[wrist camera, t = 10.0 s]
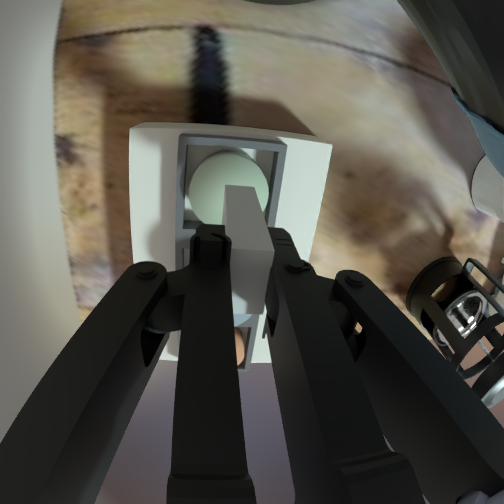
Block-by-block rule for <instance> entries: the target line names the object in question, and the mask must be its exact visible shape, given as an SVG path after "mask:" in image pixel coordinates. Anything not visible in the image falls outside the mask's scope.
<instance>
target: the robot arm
mask: <svg viewBox="0 0 504 504" xmlns="http://www.w3.org/2000/svg"><path fill="white" fill-rule="evenodd" d="M245 1H250V2H255V3H262V4H273V5H289V4H299V3H306V2H310V1H314V0H245ZM397 1H398V3H399V4H400V5H401V6H402V8H403V9H404V10H405V12H406V13H407V14H408V16H409V17H410V19H411V20H412V21H413V23H414V24H415V26H416V27H417V29H418V30H419V32H420V33H421V34H422V36H423V38H424V39H425V41H426V42H427V44H428V45H429V47H430V48H431V50H432V52H433V53H434V55H435V57H436V58H437V60H438V62H439V63H440V65H441V67H442V69H443V70H444V72H445V74H446V76H447V78H448V80H449V81H450V86H451V89H452V92H453V96H454V99H455V101H456V103H457V104H458V106H459V107H460V109H461V110H462V111H463V112H464V113H465V114H466V115H467V117H468V119H469V121H470V123H471V125H472V127H473V129H474V131H475V133H476V135H477V137H478V140H479V142H480V144H481V146H482V148H483V150H484V152H485V154H486V156H487V157H488V159H489V160H490V162H491V163H492V165H493V166H494V167H495V168H496V170H497V171H498V172H499V173H500V174H501V175H502V176H503V177H504V0H397ZM265 306H266V311H267V313H266V318H265V323H264V328H263V333H262V339H265V335H266V334H267V339H268V345H269V351H270V356H271V362H272V367H273V373H274V378H275V384H276V389H277V395H278V401H279V406H280V412H281V417H282V423H283V429H284V434H285V439H286V445H287V451H288V456H289V462H290V467H291V473H292V479H293V484H294V490H295V503H294V504H426V503H425V501H424V498H423V495H424V496H425V498H426V499H427V500H428V501H429V503H430V504H504V428H503V427H502V426H501V424H500V423H499V422H498V421H497V419H496V418H495V417H494V416H493V414H492V413H491V412H490V411H489V409H488V408H487V407H486V406H485V404H484V403H483V402H482V401H481V400H480V398H479V397H478V396H477V395H476V394H475V392H474V391H473V390H472V389H471V388H470V386H469V385H468V384H467V383H466V382H465V381H464V379H463V378H462V377H461V376H460V375H459V374H458V373H457V371H456V370H455V369H454V368H453V367H452V366H451V365H450V363H449V362H448V361H447V360H446V359H445V358H444V357H443V356H442V354H440V352H439V351H438V350H437V349H436V348H435V347H434V346H433V345H432V343H431V342H430V341H429V340H428V339H427V338H426V337H425V336H424V335H423V334H422V333H421V332H420V330H419V329H418V328H417V327H416V326H415V325H414V324H413V323H412V322H411V321H410V320H409V319H408V318H407V317H406V316H405V315H404V314H403V313H402V312H401V311H400V309H399V308H398V307H397V306H396V305H395V304H394V303H393V302H392V301H391V300H390V299H389V298H388V297H387V296H386V295H385V294H384V293H383V292H382V291H381V290H380V289H379V288H378V287H377V286H376V285H375V284H374V283H373V282H372V281H371V280H370V279H369V278H368V277H366V276H365V275H364V274H361V273H359V272H358V271H354V270H342V271H339V272H338V273H337V274H336V277H335V280H334V279H330V278H325V277H322V276H318V275H316V273H315V270H314V268H313V267H312V266H311V264H310V263H308V262H307V261H305V260H302V259H301V258H300V256H299V254H298V251H297V249H296V247H295V244H294V242H293V241H292V238H291V235H290V233H288V232H287V231H286V230H285V229H283V228H276V227H267V225H266V222H265V219H264V215H263V212H262V209H261V206H260V203H259V200H258V197H257V194H256V191H255V187H251V186H238V185H225V191H224V202H223V214H222V225H218V224H201V225H200V226H198V227H197V228H196V232H195V234H194V235H193V236H192V237H191V238H190V258H189V265H188V266H186V267H184V268H182V269H180V270H176V271H170V272H167V270H166V268H165V267H164V266H163V265H162V264H160V263H157V262H154V261H141V262H138V263H135V264H133V265H131V266H130V267H129V268H128V269H127V270H126V271H125V272H124V273H123V274H122V276H121V277H120V278H119V279H118V280H117V281H116V283H115V284H114V285H113V286H112V287H111V289H110V290H109V291H108V292H107V293H106V295H105V296H104V297H103V298H102V300H101V301H100V302H99V303H98V304H97V306H96V307H95V308H94V309H93V311H92V312H91V313H90V314H89V316H88V317H87V318H86V320H85V321H84V322H83V323H82V325H81V326H80V327H79V329H78V330H77V331H76V333H75V334H74V335H73V336H72V338H71V339H70V340H69V342H68V343H67V344H66V346H65V347H64V348H63V350H62V351H61V352H60V354H59V355H58V357H57V358H56V359H55V361H54V362H53V363H52V365H51V366H50V368H49V369H48V371H47V372H46V373H45V375H44V376H43V378H42V379H41V381H40V382H39V383H38V385H37V386H36V388H35V389H34V391H33V392H32V394H31V395H30V397H29V398H28V400H27V402H26V403H25V404H24V406H23V408H22V409H21V411H20V412H19V414H18V415H17V417H16V418H15V420H14V422H13V423H12V425H11V427H10V428H9V430H8V432H7V433H6V435H5V437H4V438H3V440H2V442H1V443H0V504H94V503H95V501H96V498H97V496H98V493H99V491H100V488H101V486H102V483H103V481H104V479H105V476H106V474H107V472H108V469H109V467H110V464H111V463H112V460H113V458H114V456H115V453H116V451H117V449H118V446H119V444H120V442H121V440H122V437H123V435H124V433H125V431H126V428H127V426H128V424H129V422H130V420H131V417H132V415H133V413H134V411H135V409H136V407H137V404H138V402H139V400H140V398H141V396H142V394H143V391H144V389H145V387H146V385H147V383H148V381H149V378H150V377H151V374H152V372H153V370H154V368H155V366H156V364H157V362H158V360H159V358H160V356H161V354H162V351H163V349H164V347H165V345H166V343H167V341H168V339H169V337H170V332H174V331H179V330H181V334H180V344H179V354H178V365H177V377H176V388H175V402H174V417H173V435H172V457H171V472H170V475H169V477H168V483H167V504H256V496H255V490H254V485H253V482H252V479H251V477H250V475H249V473H248V468H247V460H246V451H245V441H244V431H243V420H242V412H241V401H240V400H241V399H240V389H239V377H238V365H237V353H236V341H235V329H234V316H233V314H262V315H263V312H264V307H265ZM357 322H358V323H359V324H360V325H361V326H362V331H361V332H360V333H358V332H357V330H356V329H355V327H356V325H357ZM383 435H384V436H385V438H386V439H387V441H388V442H389V444H390V445H391V447H392V448H393V450H394V451H395V452H392V451H391V450H390V449H389V448H388V446H387V444H386V441H385V439H384V436H383ZM422 494H423V495H422Z"/></svg>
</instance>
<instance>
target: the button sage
mask: <svg viewBox="0 0 504 504" xmlns="http://www.w3.org/2000/svg"><path fill="white" fill-rule="evenodd" d="M225 185H238V186H251V187H255V191H256V194H257V197H258V200H259V203H260V206H261V209H262V212H263V211H264V209H265V207H266V205H267V201H268V195H269V191H268V184H267V181H266V178H265V176H264V174H263V172H262V171H261V169H260V167H259V165H258V164H257V163H256V162H255V160H254V159H252V158H251V157H250V156H248V155H247V154H245V153H242V152H240V151H236V150H221V151H217V152H214V153H212V154H210V155H208V156H207V157H205V158H204V159H203V160H202V161H201V162H200V163H199V164H198V166H197V167H196V169H195V171H194V173H193V176H192V180H191V184H190V187H189V200H190V204H191V207H192V210H193V212H194V213H195V215H196V216H197V217H198V218H199V219H200V220H201V221H202V222H203V223H205V224H218V225H222V214H223V202H224V191H225Z"/></svg>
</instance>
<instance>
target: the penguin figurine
mask: <svg viewBox="0 0 504 504" xmlns="http://www.w3.org/2000/svg"><path fill="white" fill-rule="evenodd" d="M501 262H502V263H503V264H504V258H502V260H501ZM502 284H503V285H504V276H503V281H502ZM492 297H493V298H494V299H495V301H496V302H497V303H498V304H499V305H500V306H501V307H502V308H503V309H504V294H503V293H502V292H501V291H499V294H498V295H497V296H496V295H492ZM488 304H489V314H490V315H491V316H492V315H494V314H496V313H498V312H497V311H496V310H495V309H494V308H493V306H492V305H491V304H490V303H489V302H488Z"/></svg>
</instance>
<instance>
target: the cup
mask: <svg viewBox="0 0 504 504" xmlns="http://www.w3.org/2000/svg"><path fill="white" fill-rule="evenodd" d="M471 193H472V200H473V202H474V205H475V206H476V208H477V209H478V210H480V211H482V212H484V213H486V214H488V215H490V216H492V217H495V218H497V219H500V220H501V221H502V222H503V223H504V177H503V176H502V175H501V174H500V173H499V172H498V171H497V170H496V168H495V167H494V166H493V165H492V163H491V162H490V160H489V159H488V157H487V156H486V155H485V156H484V157H483V158H482V159H481V161H480V162H479V164H478V166H477V167H476V170H475V173H474V176H473V180H472V191H471Z"/></svg>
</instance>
